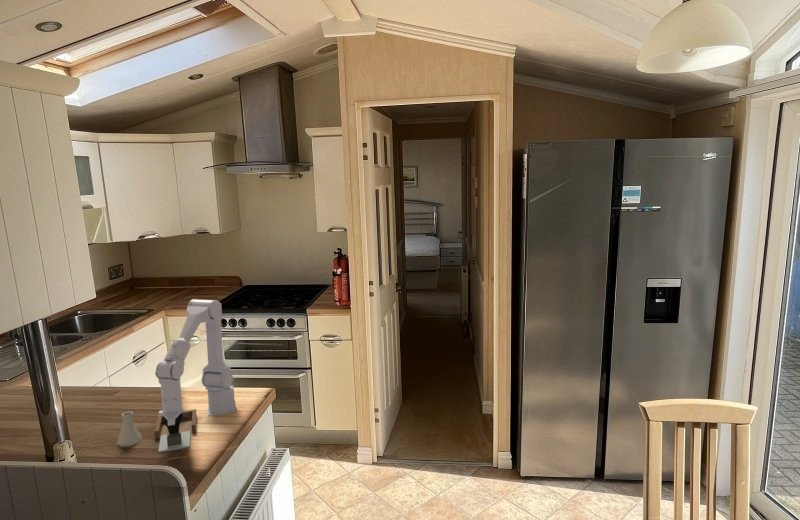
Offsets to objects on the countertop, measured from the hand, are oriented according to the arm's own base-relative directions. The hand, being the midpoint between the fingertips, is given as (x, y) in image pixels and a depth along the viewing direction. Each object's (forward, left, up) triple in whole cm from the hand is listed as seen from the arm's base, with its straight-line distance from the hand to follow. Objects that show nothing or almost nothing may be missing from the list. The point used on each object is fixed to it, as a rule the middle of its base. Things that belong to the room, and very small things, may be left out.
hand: (174, 436), depth 160 cm
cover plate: (0, 0, -2) cm, 2 cm away
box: (0, -11, -2) cm, 11 cm away
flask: (+14, -7, -3) cm, 16 cm away
